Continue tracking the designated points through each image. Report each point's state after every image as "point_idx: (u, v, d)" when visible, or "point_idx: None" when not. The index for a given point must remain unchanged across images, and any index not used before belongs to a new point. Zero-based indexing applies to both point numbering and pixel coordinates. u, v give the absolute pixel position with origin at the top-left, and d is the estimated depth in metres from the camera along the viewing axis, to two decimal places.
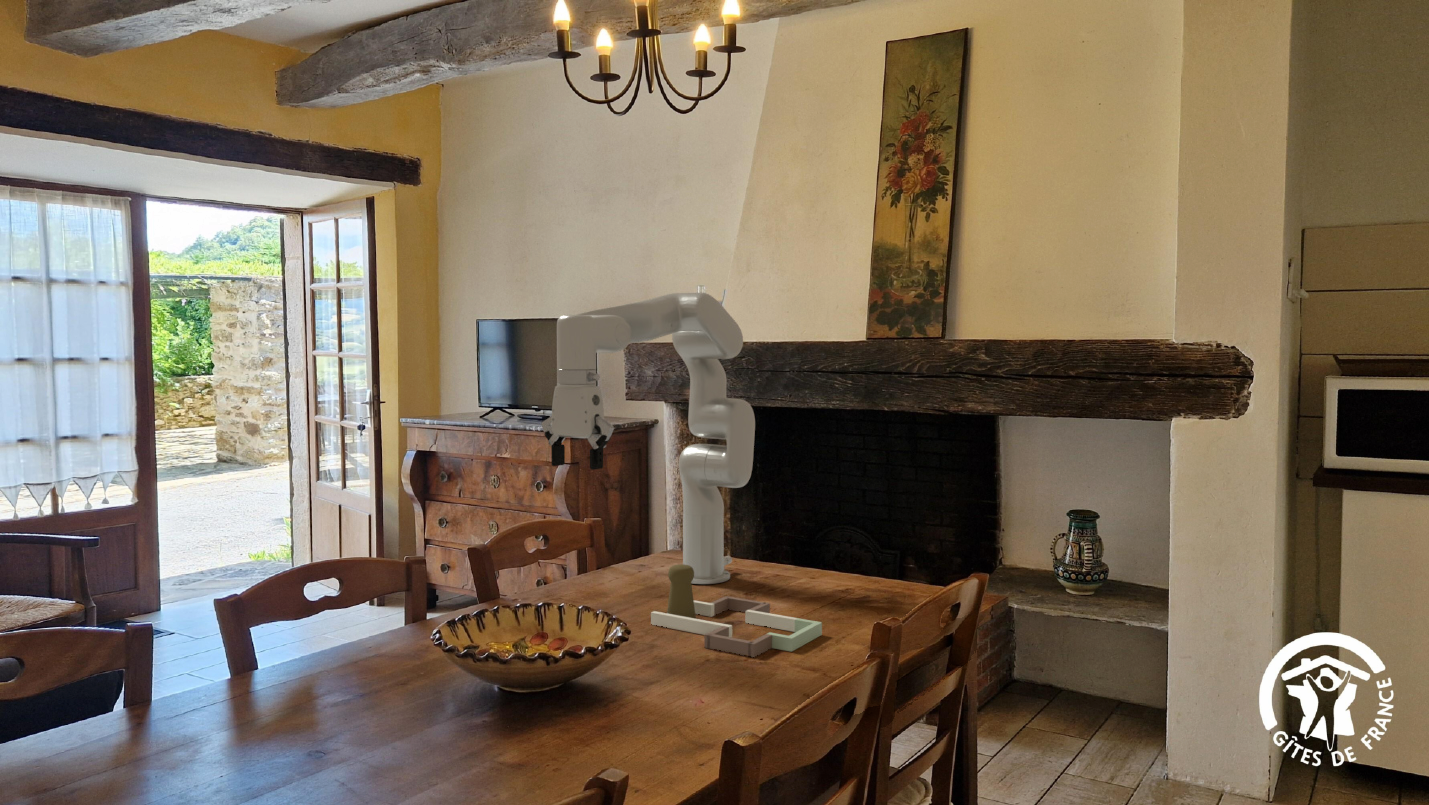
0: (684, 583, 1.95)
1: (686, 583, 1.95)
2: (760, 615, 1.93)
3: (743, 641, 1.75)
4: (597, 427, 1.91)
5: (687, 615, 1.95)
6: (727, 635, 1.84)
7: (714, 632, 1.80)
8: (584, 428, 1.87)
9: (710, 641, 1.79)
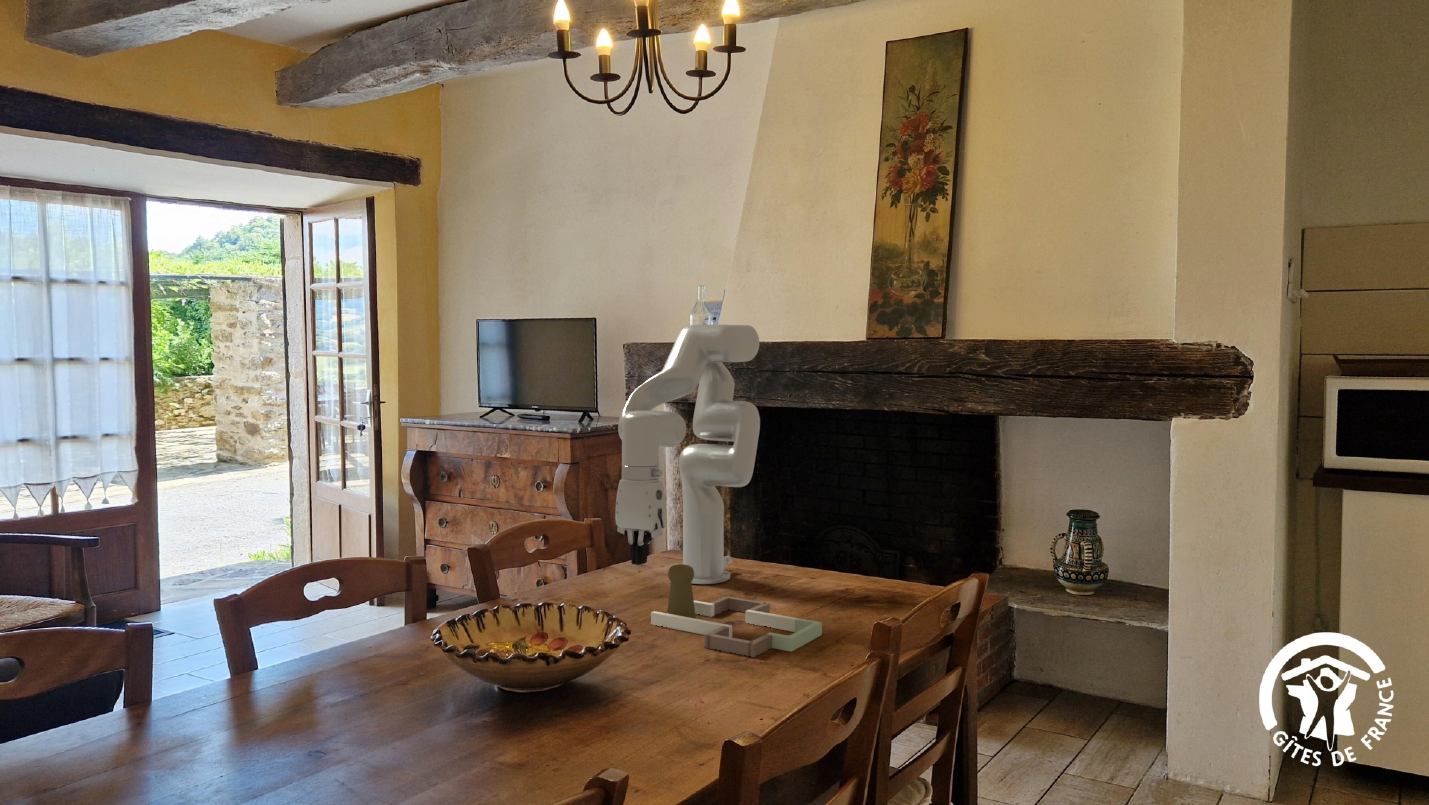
0: (684, 583, 1.95)
1: (686, 583, 1.95)
2: (760, 615, 1.93)
3: (743, 641, 1.75)
4: None
5: (687, 615, 1.95)
6: (727, 635, 1.84)
7: (714, 632, 1.80)
8: (648, 522, 1.97)
9: (710, 641, 1.79)
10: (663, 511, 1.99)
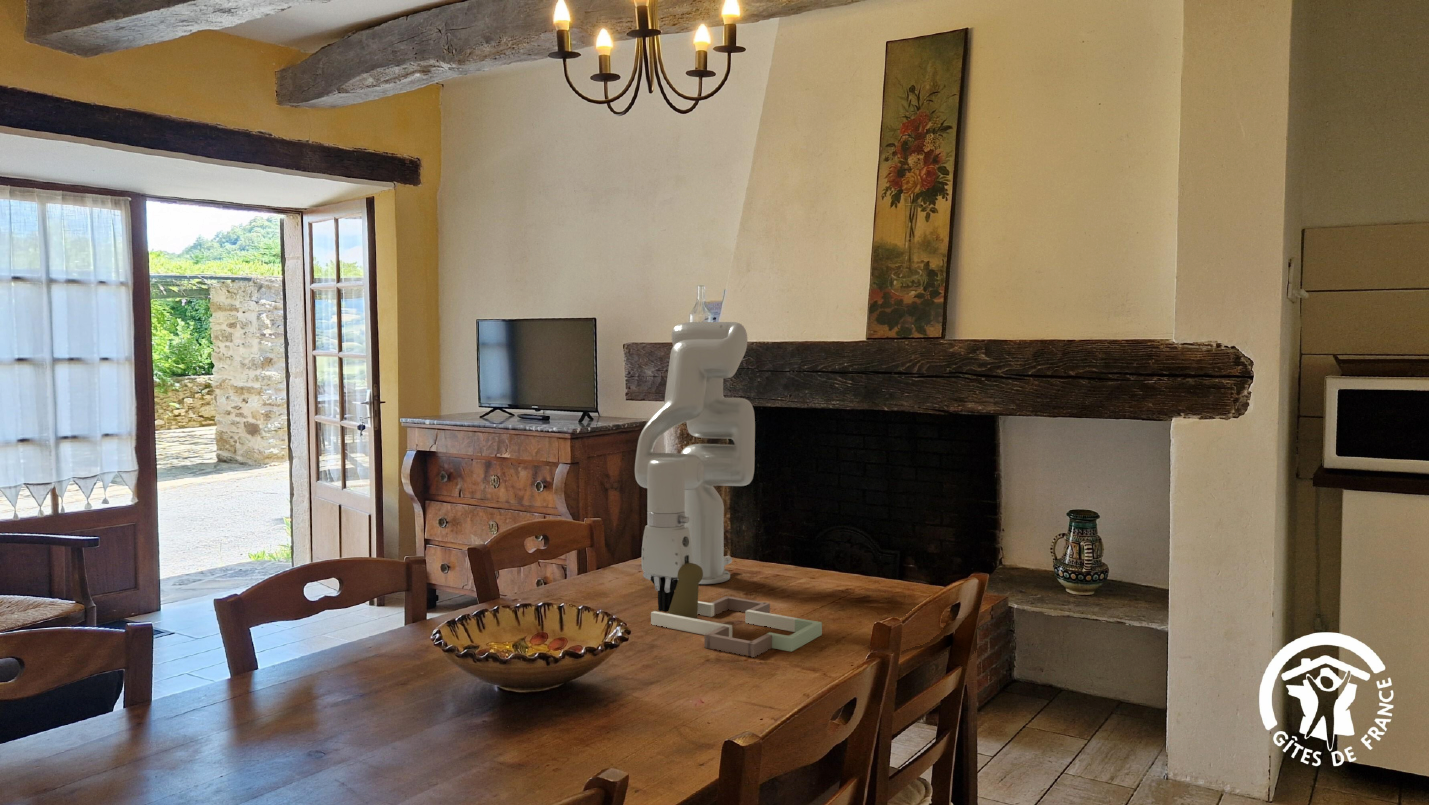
0: (692, 584, 1.94)
1: (693, 584, 1.94)
2: (760, 615, 1.93)
3: (743, 641, 1.75)
4: None
5: (689, 615, 1.94)
6: (727, 635, 1.84)
7: (714, 632, 1.80)
8: (674, 569, 1.95)
9: (710, 641, 1.79)
10: (690, 558, 1.96)
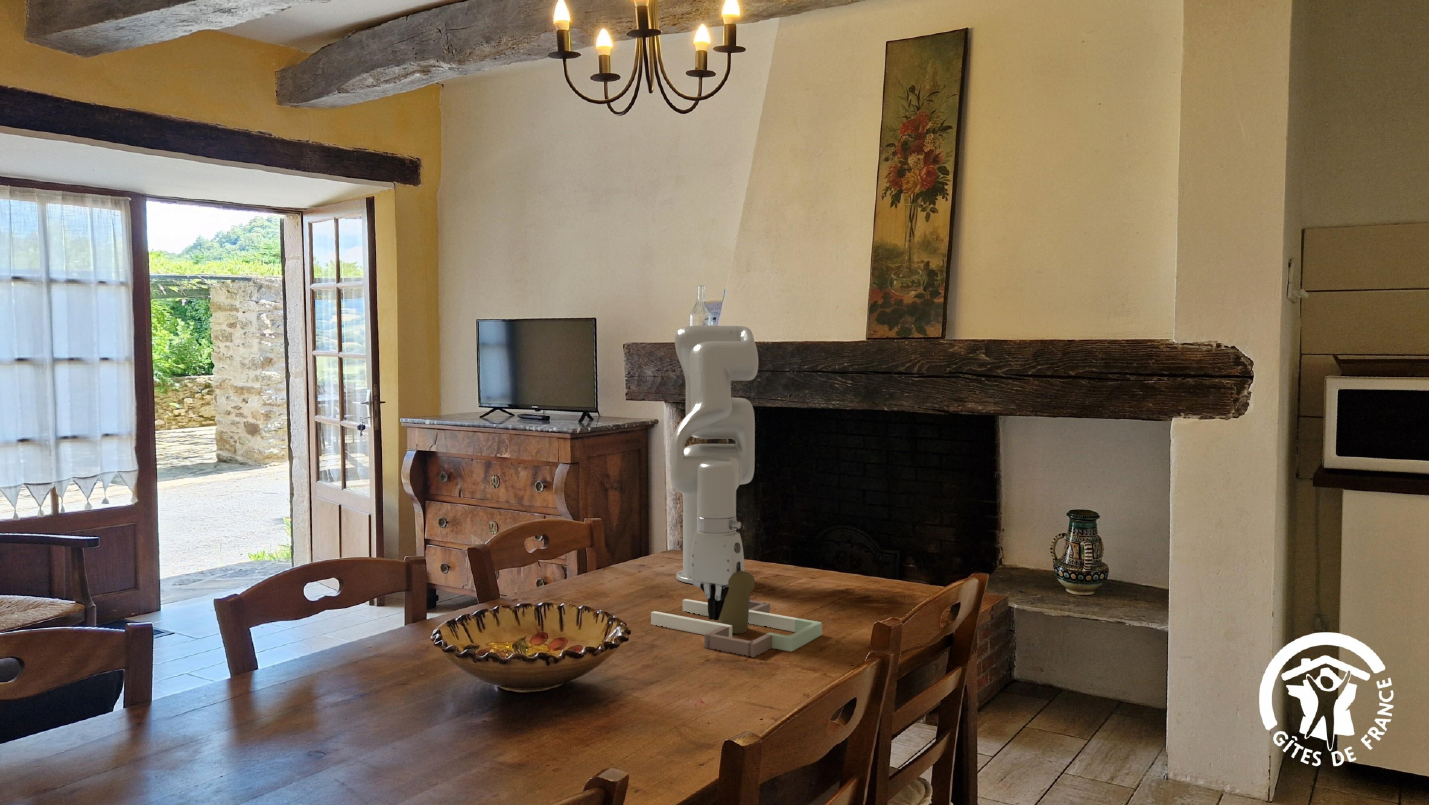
0: (743, 593, 1.87)
1: (744, 593, 1.87)
2: (760, 615, 1.93)
3: (743, 641, 1.75)
4: None
5: (739, 625, 1.88)
6: (727, 635, 1.84)
7: (714, 632, 1.80)
8: (726, 576, 1.88)
9: (710, 641, 1.79)
10: (741, 564, 1.90)
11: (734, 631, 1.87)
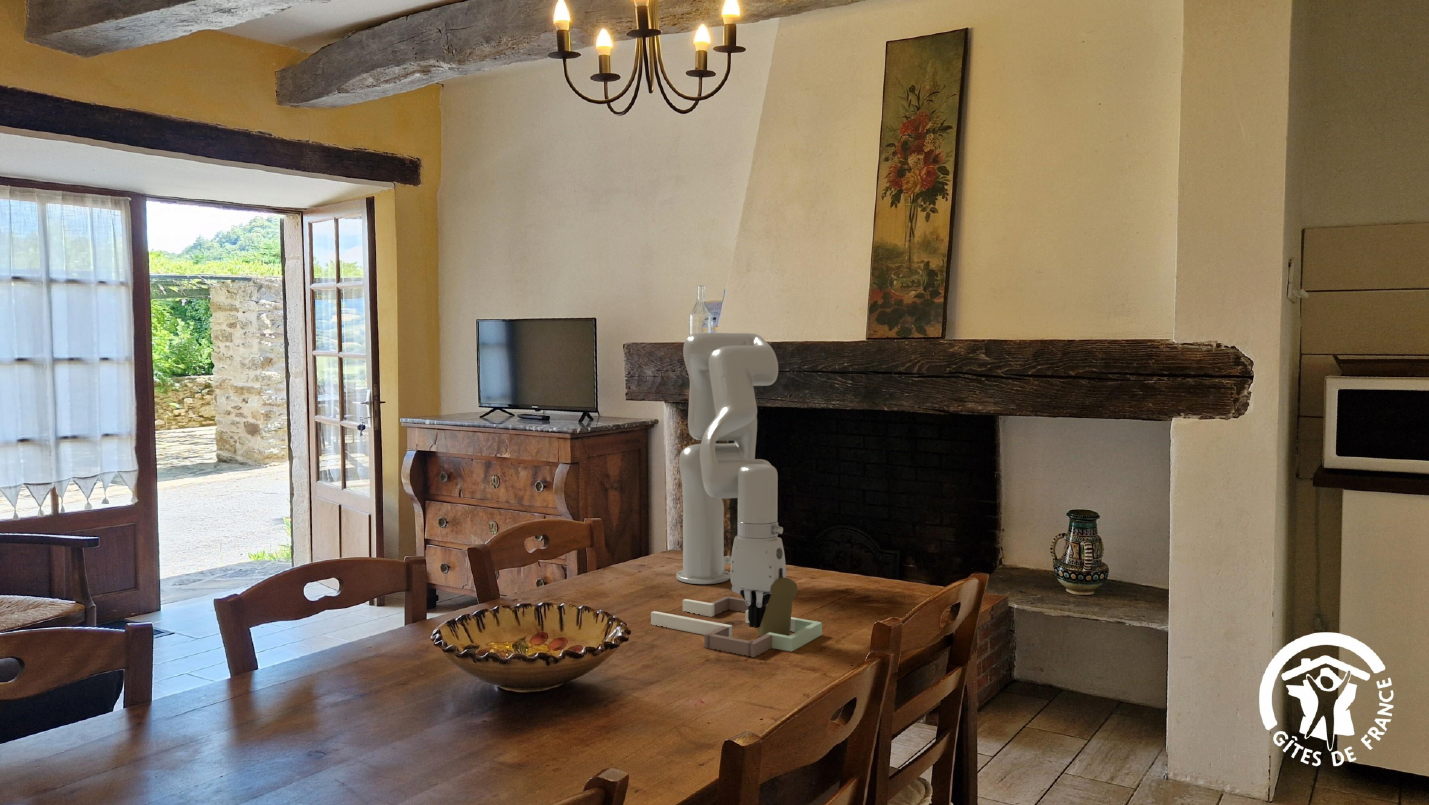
0: (786, 600, 1.82)
1: (787, 600, 1.82)
2: None
3: (743, 641, 1.75)
4: None
5: (782, 633, 1.83)
6: (727, 635, 1.84)
7: (714, 632, 1.80)
8: (768, 583, 1.83)
9: (710, 641, 1.79)
10: (783, 570, 1.85)
11: None
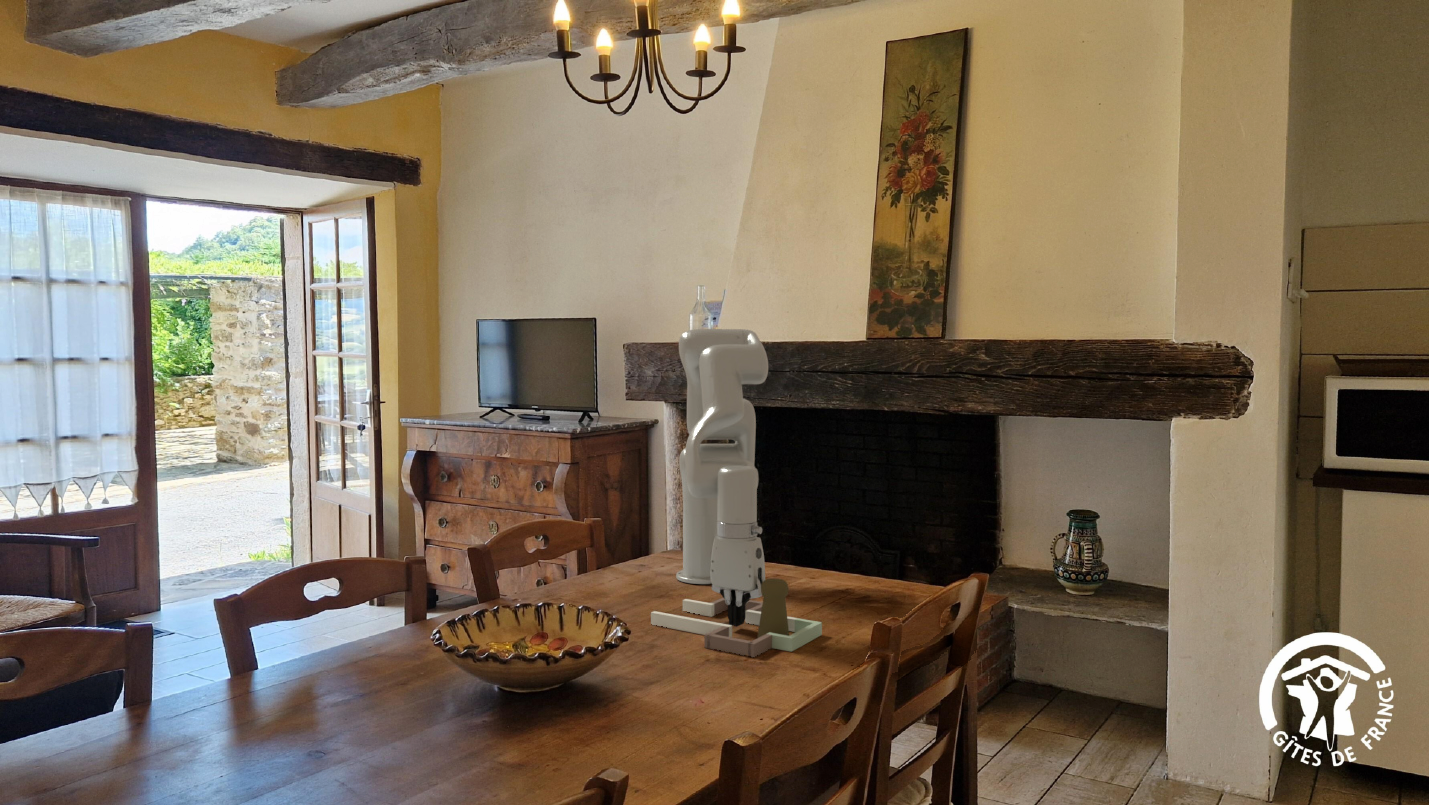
0: (778, 599, 1.83)
1: (779, 599, 1.83)
2: (760, 615, 1.93)
3: (743, 641, 1.75)
4: None
5: (780, 633, 1.83)
6: (727, 635, 1.84)
7: (714, 632, 1.80)
8: (747, 582, 1.86)
9: (710, 641, 1.79)
10: (762, 570, 1.88)
11: None
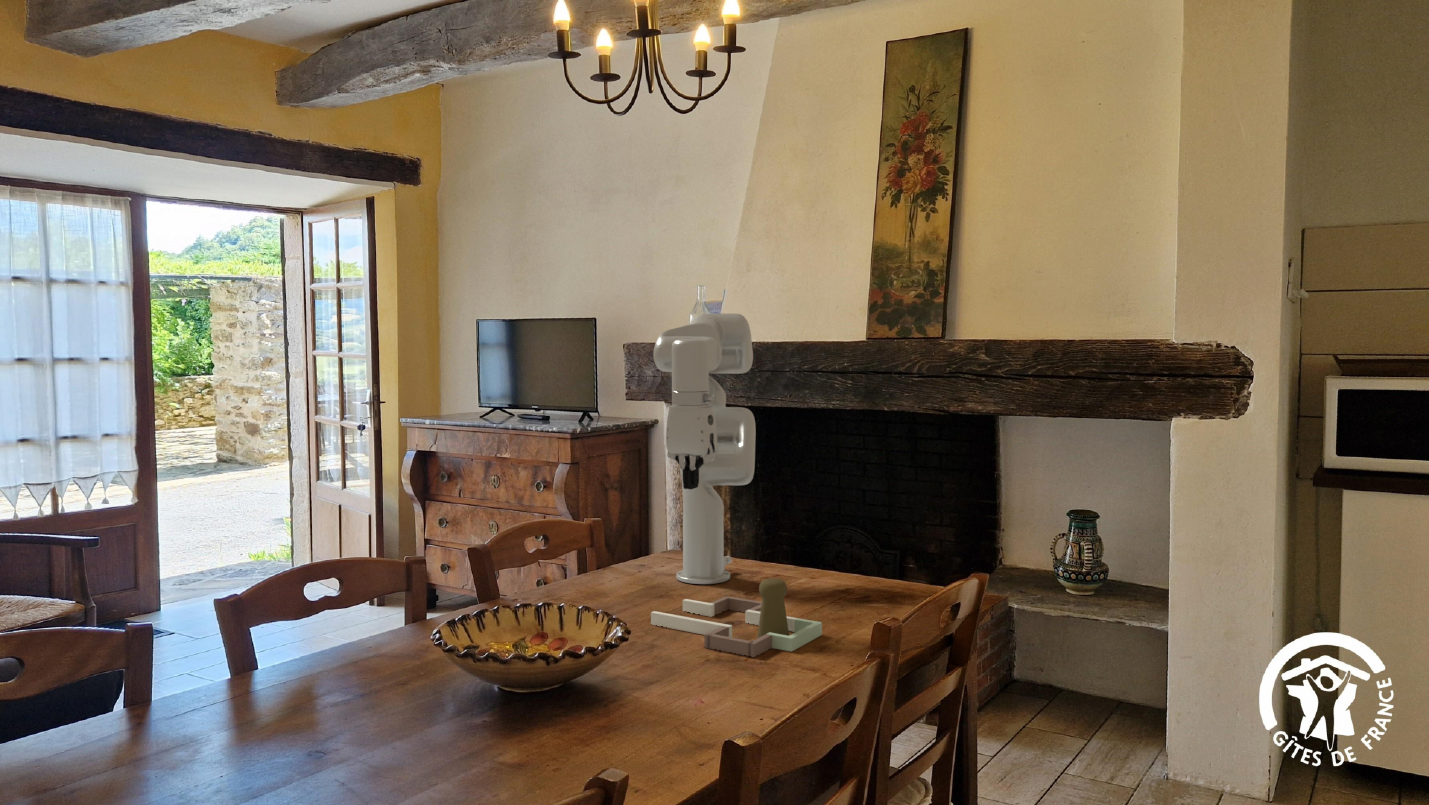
0: (777, 599, 1.83)
1: (778, 599, 1.83)
2: None
3: (743, 641, 1.75)
4: None
5: (780, 633, 1.83)
6: (727, 635, 1.84)
7: (714, 632, 1.80)
8: (700, 447, 1.99)
9: (710, 641, 1.79)
10: (714, 436, 2.00)
11: None
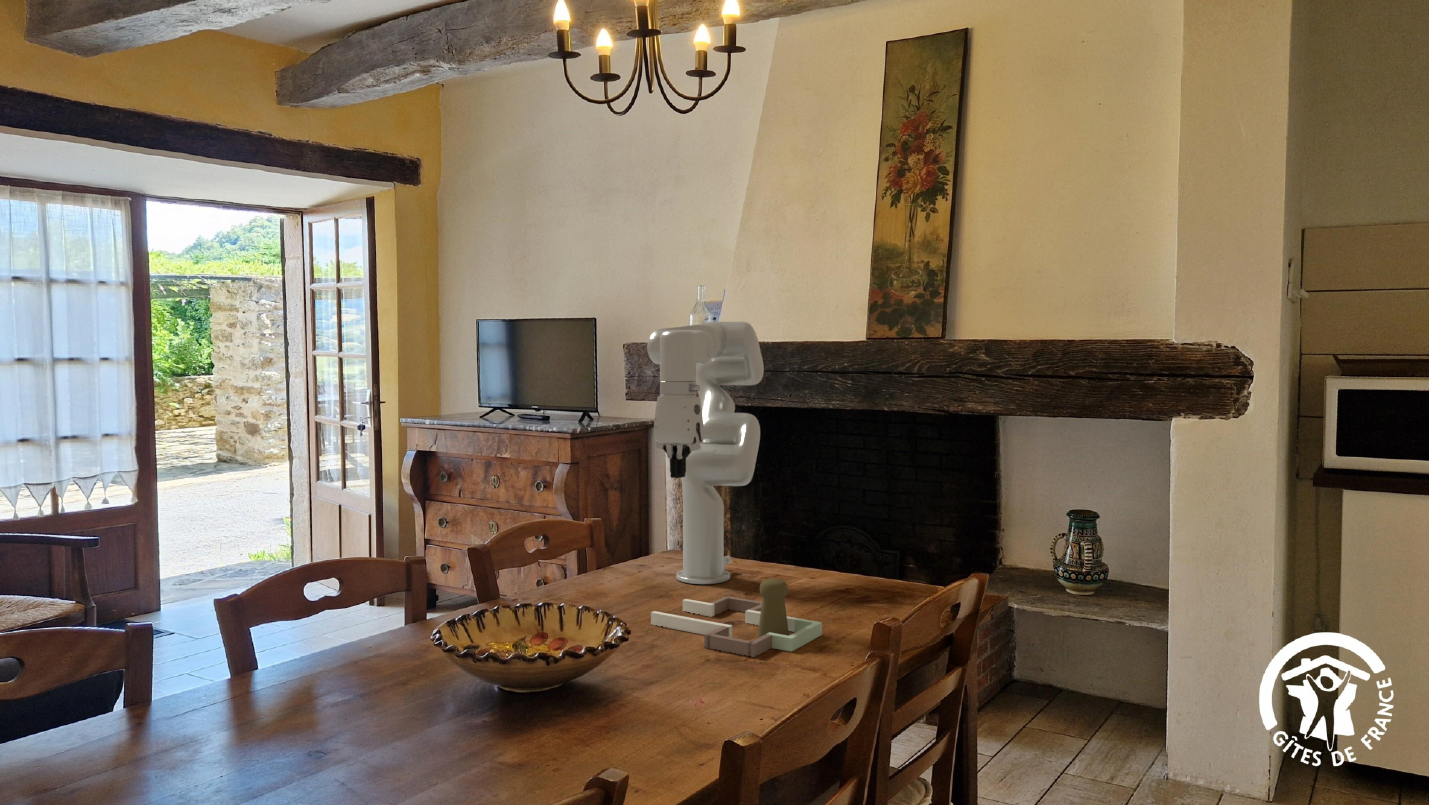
0: (777, 599, 1.83)
1: (778, 599, 1.83)
2: None
3: (743, 641, 1.75)
4: None
5: (780, 633, 1.83)
6: (727, 635, 1.84)
7: (714, 632, 1.80)
8: (686, 435, 2.03)
9: (710, 641, 1.79)
10: (701, 425, 2.05)
11: None
